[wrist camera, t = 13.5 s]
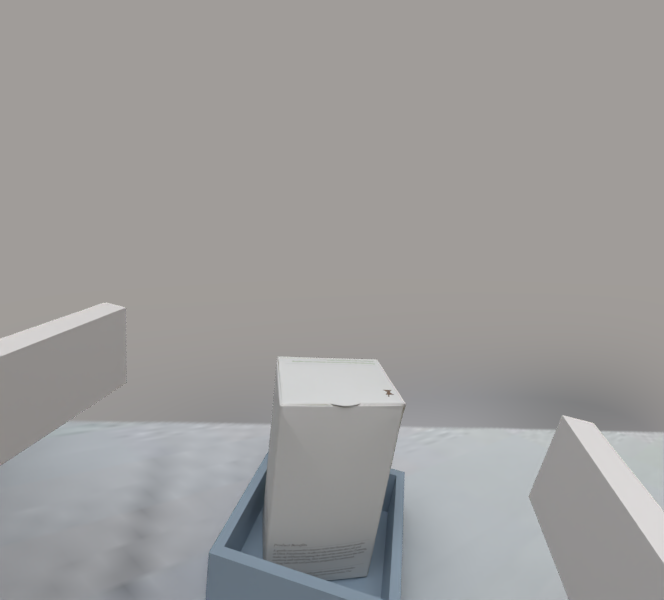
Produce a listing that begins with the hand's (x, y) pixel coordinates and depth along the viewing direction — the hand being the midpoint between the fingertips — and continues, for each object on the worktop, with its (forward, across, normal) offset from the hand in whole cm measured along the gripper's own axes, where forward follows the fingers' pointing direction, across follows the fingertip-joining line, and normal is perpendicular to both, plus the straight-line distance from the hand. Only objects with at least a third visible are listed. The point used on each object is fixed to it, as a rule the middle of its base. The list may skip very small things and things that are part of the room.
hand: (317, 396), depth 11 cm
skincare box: (+13, 0, -22) cm, 26 cm away
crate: (+13, 0, -23) cm, 26 cm away
